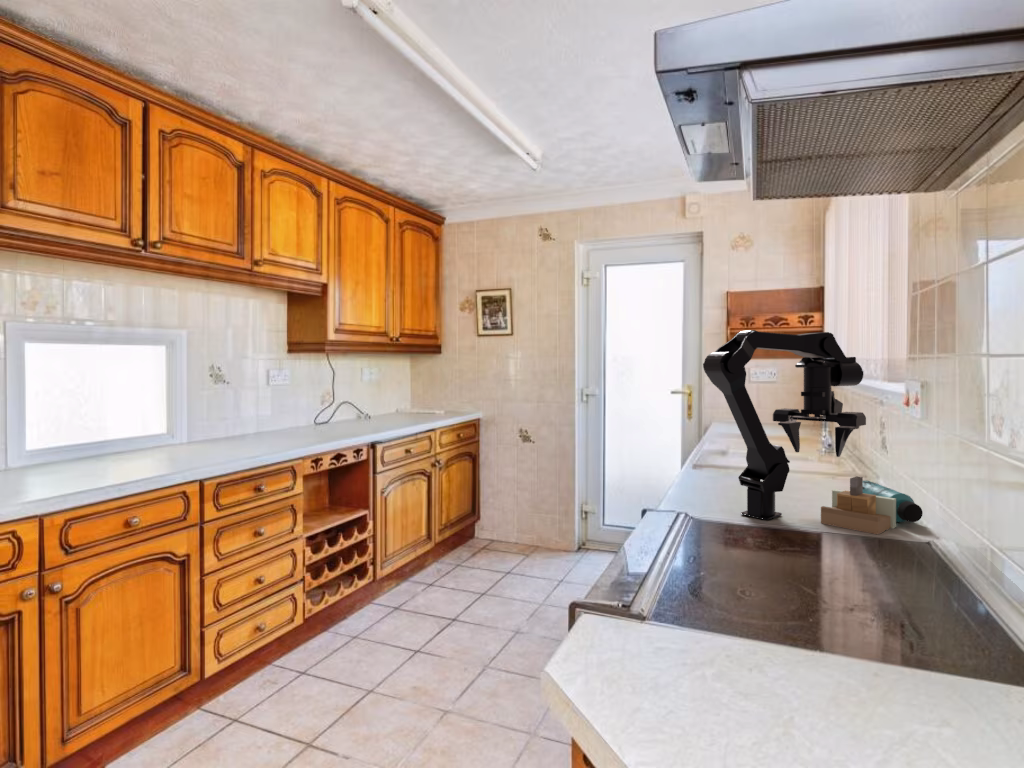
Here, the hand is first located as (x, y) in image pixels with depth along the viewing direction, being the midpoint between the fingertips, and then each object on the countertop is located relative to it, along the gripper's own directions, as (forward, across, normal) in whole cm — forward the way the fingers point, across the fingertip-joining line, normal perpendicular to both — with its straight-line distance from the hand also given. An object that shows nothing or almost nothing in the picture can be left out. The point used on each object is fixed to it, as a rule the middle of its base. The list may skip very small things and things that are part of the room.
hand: (817, 454), depth 136 cm
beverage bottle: (+10, -4, -12) cm, 16 cm away
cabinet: (+10, -11, +6) cm, 16 cm away
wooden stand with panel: (+13, -11, +7) cm, 18 cm away
